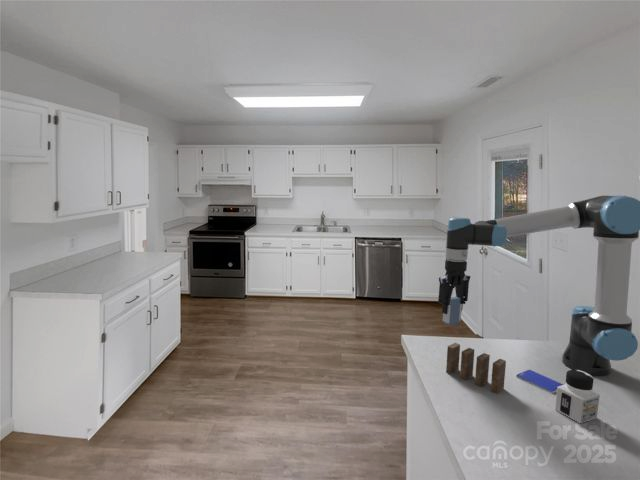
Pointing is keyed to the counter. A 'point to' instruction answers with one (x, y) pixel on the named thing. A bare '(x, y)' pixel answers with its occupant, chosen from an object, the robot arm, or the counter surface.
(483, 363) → the domino
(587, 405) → the container
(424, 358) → the counter surface
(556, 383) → the hard drive
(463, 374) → the domino
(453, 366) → the domino
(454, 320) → the end domino
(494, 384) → the domino
